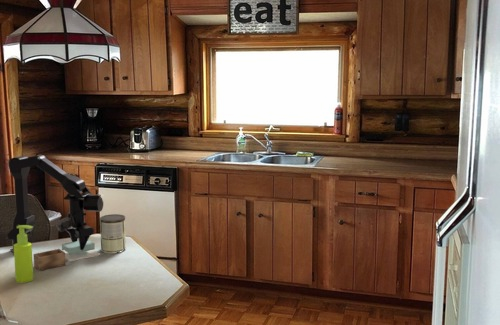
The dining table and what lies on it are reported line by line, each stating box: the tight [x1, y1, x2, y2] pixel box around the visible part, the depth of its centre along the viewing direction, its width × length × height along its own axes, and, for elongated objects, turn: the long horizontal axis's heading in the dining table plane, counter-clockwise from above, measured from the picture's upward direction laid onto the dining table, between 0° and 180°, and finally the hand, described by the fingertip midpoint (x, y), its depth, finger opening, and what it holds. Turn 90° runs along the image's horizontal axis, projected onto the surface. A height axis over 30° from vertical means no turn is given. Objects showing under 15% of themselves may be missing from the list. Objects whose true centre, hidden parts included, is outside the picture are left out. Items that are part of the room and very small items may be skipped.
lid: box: [61, 239, 96, 255], centre depth 226 cm, size 11×7×3 cm, turn 130°
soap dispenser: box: [13, 225, 34, 284], centre depth 197 cm, size 6×7×20 cm
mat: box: [62, 249, 101, 263], centre depth 227 cm, size 12×13×1 cm
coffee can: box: [99, 213, 127, 254], centre depth 232 cm, size 10×10×14 cm
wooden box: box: [32, 248, 67, 272], centre depth 213 cm, size 10×6×5 cm, turn 130°
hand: (78, 247), depth 226 cm, fingers closed on lid, 7 cm apart
